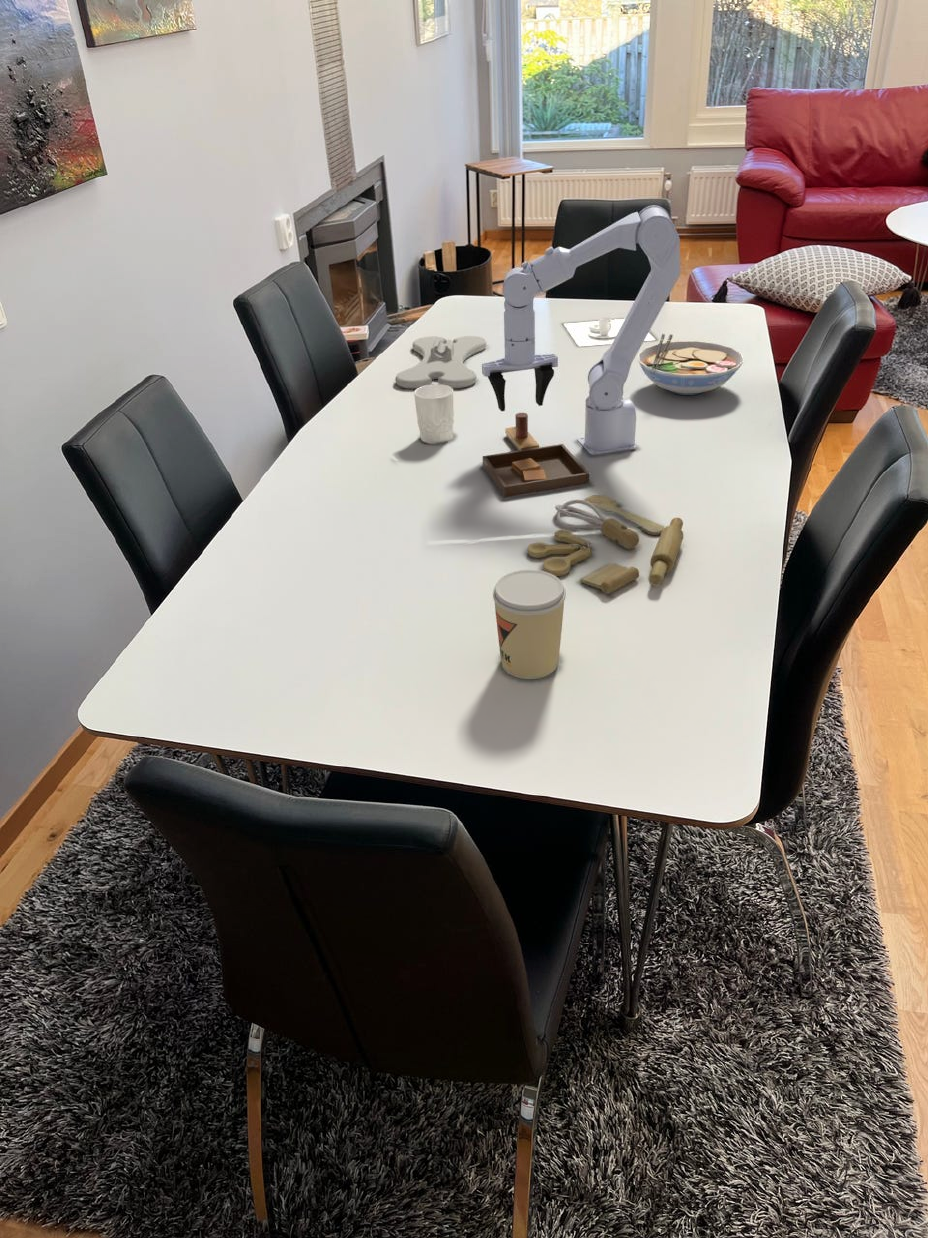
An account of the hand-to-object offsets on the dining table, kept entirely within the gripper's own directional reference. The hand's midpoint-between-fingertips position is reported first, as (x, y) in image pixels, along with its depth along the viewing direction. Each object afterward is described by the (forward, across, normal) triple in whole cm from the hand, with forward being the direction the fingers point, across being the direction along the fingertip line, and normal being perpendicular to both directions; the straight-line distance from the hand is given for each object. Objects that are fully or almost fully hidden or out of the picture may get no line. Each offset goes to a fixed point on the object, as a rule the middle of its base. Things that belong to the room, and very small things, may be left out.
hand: (520, 406), depth 179 cm
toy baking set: (+9, -1, +41) cm, 42 cm away
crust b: (+8, +3, +16) cm, 18 cm away
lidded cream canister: (+9, +21, +68) cm, 72 cm away
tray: (+8, +2, +14) cm, 16 cm away
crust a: (+8, +3, +11) cm, 14 cm away
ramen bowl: (+8, -44, -16) cm, 48 cm away
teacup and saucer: (+9, -44, -62) cm, 77 cm away
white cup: (+9, +15, -11) cm, 20 cm away
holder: (+9, +3, -54) cm, 55 cm away
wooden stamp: (+8, 0, 0) cm, 8 cm away
